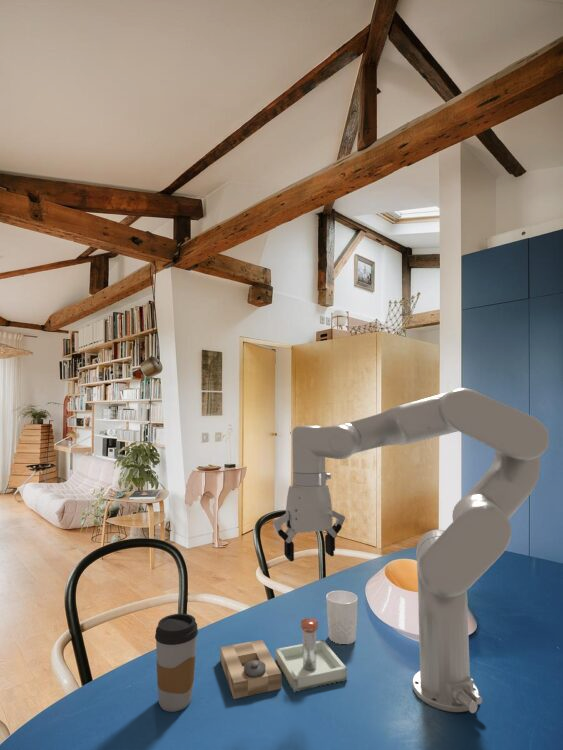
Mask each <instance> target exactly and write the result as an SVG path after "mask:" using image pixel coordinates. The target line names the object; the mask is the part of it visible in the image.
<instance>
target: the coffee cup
mask: <svg viewBox="0 0 563 750" xmlns="http://www.w3.org/2000/svg"><path fill="white" fill-rule="evenodd" d="M198 634H199V631H198V623H197V622H196V618H195V617H194V616H193V615H192V614H188V613H173V614H169V615H166V616H164V617H162V618H161V619H160V620H158V623H157V626H156V628H155V634H154V638H155V645H156V677H157V679H156V680H157V681H156V683H157V689H158V690H157V692H158V704H159V706H160V708H161V709H162V710H164V711H166V712H178V711H181V710H184V709H185V708H187V707H189V704H190V703H191V701H192V698H193V692H194V691H193V690H194V680H195V670H196V669H195V667H196V651H197V648H196V647H197V637H198Z"/></svg>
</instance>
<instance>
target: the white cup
mask: <svg viewBox="0 0 563 750" xmlns="http://www.w3.org/2000/svg"><path fill="white" fill-rule="evenodd" d="M325 598H326V599H325V600H326V618H327V619H326V620H327V626H328V628H327V629H328V638H329V640H330V641H331V642H332V641H333V642H332V643H334V642H335V643H334V644H337V643H338V645H341V644H347V645H351V644H353V643H354V642H356V639H357V638H356V637H357V635H356V634H357V624H358V595H357V594H355V593H353V592H351V591H347V590H332V591H329V592H328V593H326V596H325Z"/></svg>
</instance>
